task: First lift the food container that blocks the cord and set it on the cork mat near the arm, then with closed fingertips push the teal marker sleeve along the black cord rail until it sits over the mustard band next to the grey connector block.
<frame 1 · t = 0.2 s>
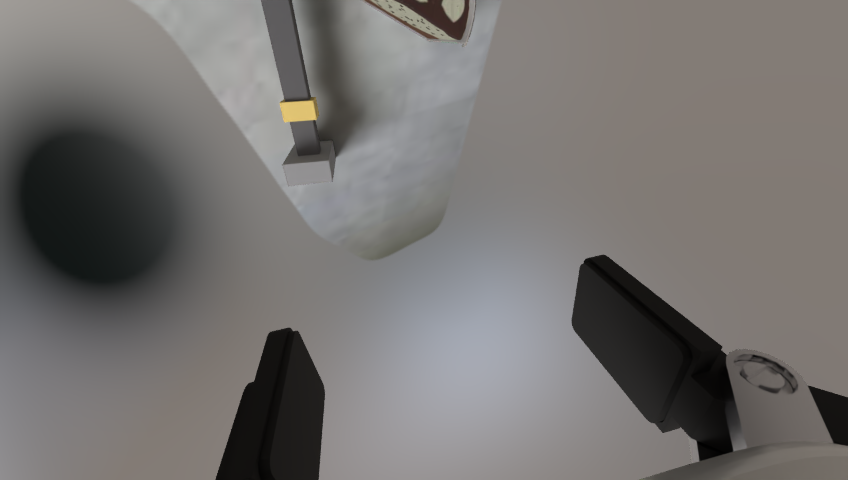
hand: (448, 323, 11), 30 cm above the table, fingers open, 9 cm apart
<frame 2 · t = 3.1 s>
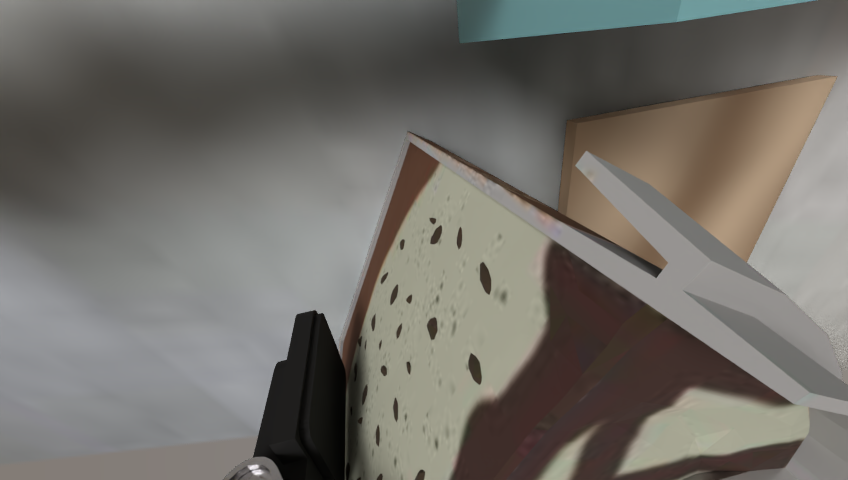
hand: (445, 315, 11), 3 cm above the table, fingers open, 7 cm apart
food container: (440, 264, 13), on the table, touching gripper
mat: (652, 247, 15), on the table
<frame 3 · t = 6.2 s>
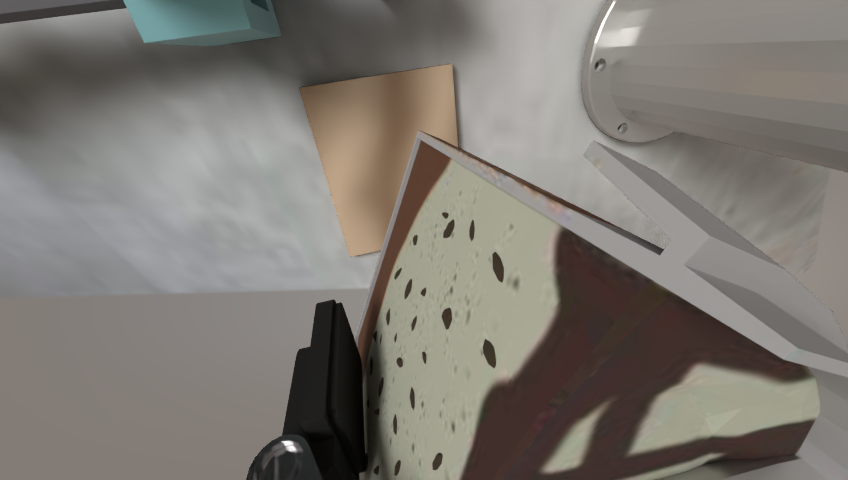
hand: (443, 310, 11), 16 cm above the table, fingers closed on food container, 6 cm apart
food container: (451, 260, 14), point 13 cm above the table, touching gripper
mat: (394, 169, 25), on the table
when the fingers open (4 cm above the table, at t = 8.7 s): food container moves 1 cm, resting on mat.
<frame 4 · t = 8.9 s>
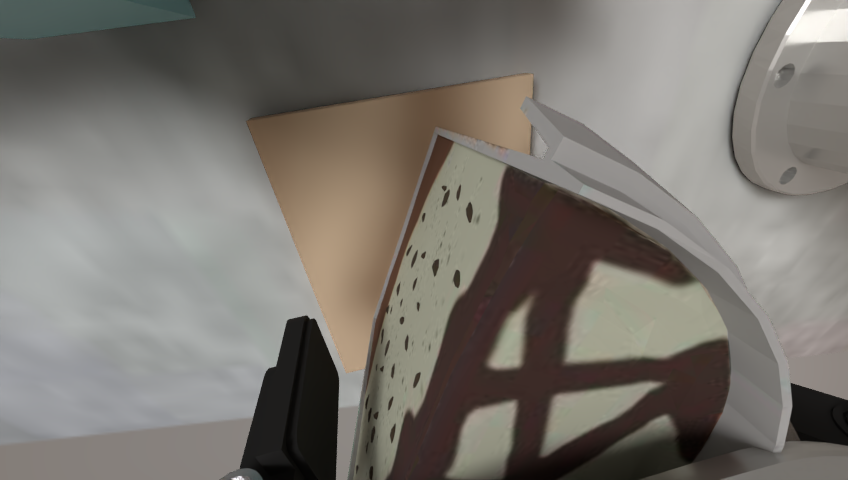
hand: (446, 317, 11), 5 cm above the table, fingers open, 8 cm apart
food container: (465, 251, 14), point 1 cm above the table, touching gripper, mat
mat: (418, 246, 15), on the table
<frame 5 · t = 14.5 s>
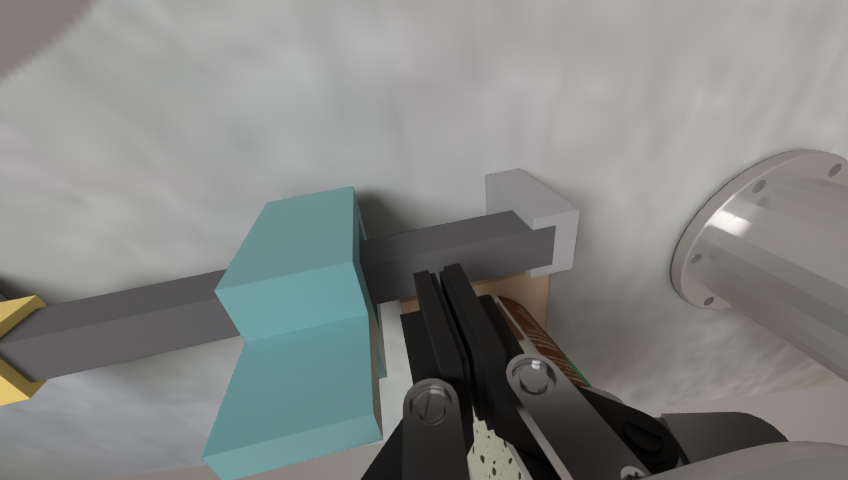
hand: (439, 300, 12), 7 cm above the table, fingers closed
sleeve: (317, 310, 12), point 6 cm above the table, slide at 1.0 cm, touching gripper
food container: (505, 346, 24), resting on mat
cord rail: (271, 244, 17), on the table
mat: (478, 346, 24), on the table
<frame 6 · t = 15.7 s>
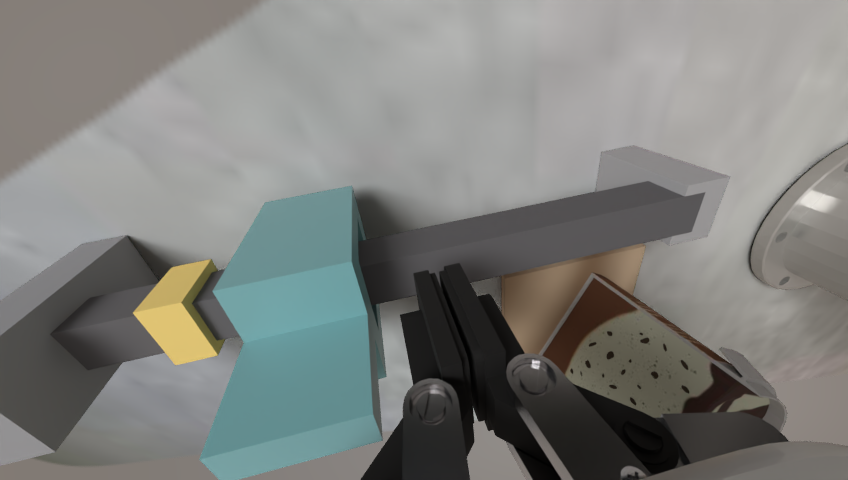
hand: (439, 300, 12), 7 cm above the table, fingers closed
sleeve: (316, 310, 12), point 6 cm above the table, slide at 7.9 cm, touching gripper
food container: (589, 325, 25), resting on mat
cord rail: (397, 217, 18), on the table
mat: (562, 325, 25), on the table
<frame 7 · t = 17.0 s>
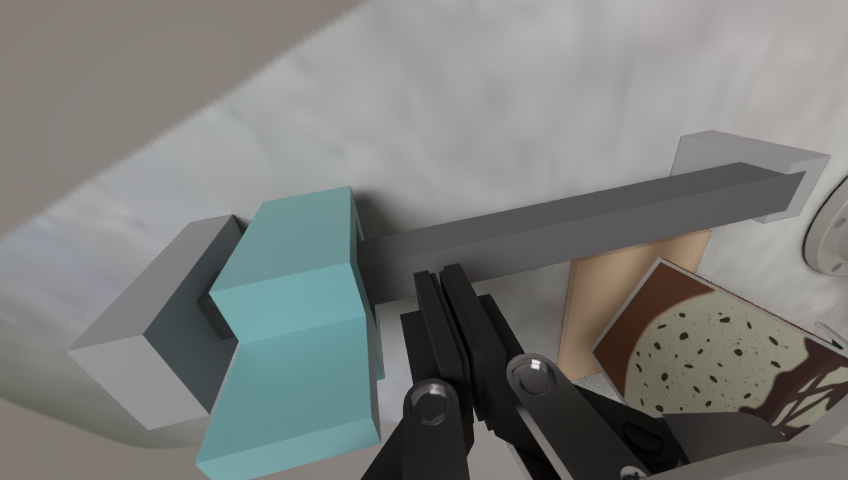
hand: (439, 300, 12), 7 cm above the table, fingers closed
sleeve: (314, 311, 12), point 6 cm above the table, slide at 13.0 cm, touching gripper
food container: (647, 310, 25), resting on mat
cord rail: (484, 200, 18), on the table
mat: (621, 310, 25), on the table
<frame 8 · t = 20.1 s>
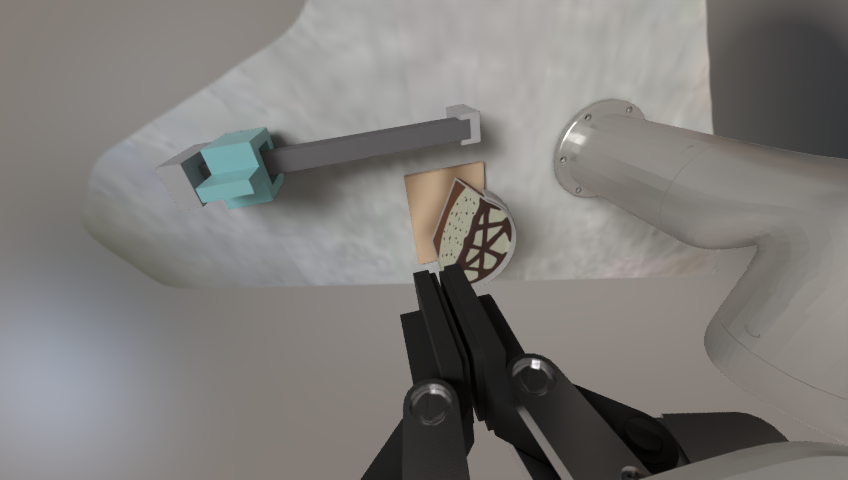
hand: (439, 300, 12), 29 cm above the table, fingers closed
sleeve: (243, 171, 30), point 6 cm above the table, slide at 13.2 cm
food container: (463, 214, 43), resting on mat
cord rail: (343, 139, 36), on the table
mat: (447, 214, 43), on the table
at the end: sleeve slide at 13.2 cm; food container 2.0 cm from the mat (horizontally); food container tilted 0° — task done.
